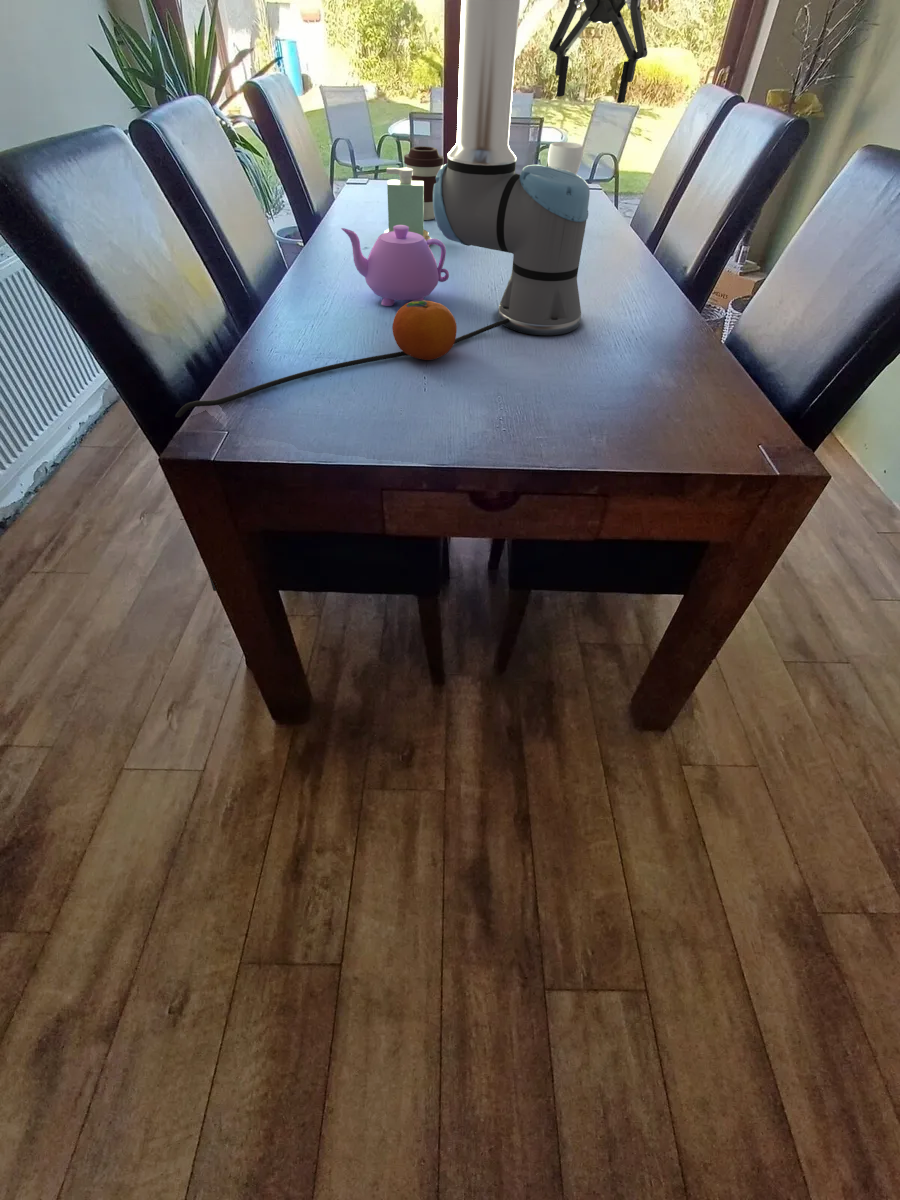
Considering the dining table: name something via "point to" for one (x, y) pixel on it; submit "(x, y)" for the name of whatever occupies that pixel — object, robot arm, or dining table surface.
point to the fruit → (424, 329)
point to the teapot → (400, 265)
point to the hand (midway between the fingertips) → (590, 99)
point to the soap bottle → (406, 202)
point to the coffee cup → (425, 173)
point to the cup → (565, 156)
